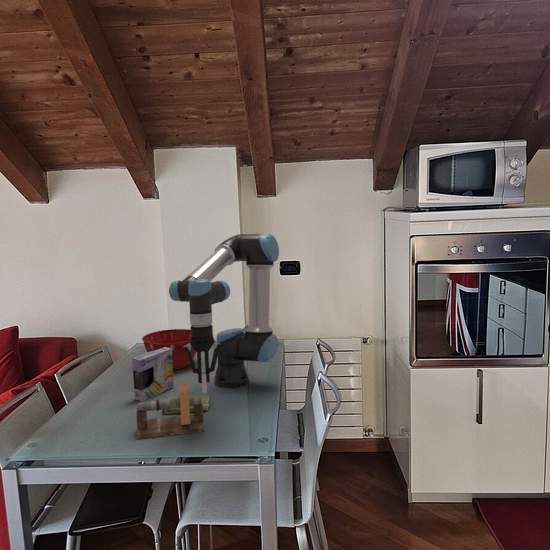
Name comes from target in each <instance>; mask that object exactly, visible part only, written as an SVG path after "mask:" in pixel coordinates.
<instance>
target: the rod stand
mask: <svg viewBox="0 0 550 550" xmlns="http://www.w3.org/2000/svg"><path fill="white" fill-rule="evenodd" d="M191 406H194V412H193V414H190V424H185V425H181V415H179V416H177V415H176V416H168V417H160V418H158V417H157V418H150V419H149V418H148V416H147V415H148V414H147V412H150V411H152V412H153V411H157V412H159V411H160V410H161V411H162V409H172V408H180V399H172V400H166V399H165V400H164V399H163V400H159V399H156V400H153V401H145V402H144V401H141V402H138V403H137V408H136V412H135V415H136V428H137V430H136V440H141V439H140V438H144V439H149V438H148V437H153V438H156V437H155V436H161V437H165V436H164V435H170V436H172V435H171V434H178V435H182V434H181V433H187V434H190V433H189V432H196V433H200V432H199V431H204V432H205V423H204V412H203V405H202V402H201V397H191V398H189V407H191Z"/></svg>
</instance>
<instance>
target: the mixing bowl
mask: <svg viewBox="0 0 550 550" xmlns="http://www.w3.org/2000/svg"><path fill="white" fill-rule="evenodd" d="M190 339H191V330H190V329H189V328H188V329H186V328H172V329H171V328H170V329H163V330H158V331H157V330H156V331H153V332H150V333H148V334H145V335H143V336H142V338H141V341H143V345H144V347H145V350H146V353H148V352H151V351H155V350H158V349H161V348H164V347H167V348H171V349H172V364H173V371H175V370H176V369H177V370H180V369H184V368H186V367H188V366H189V365H191V364H190V361H189V358H188V355H187V353H186V351H185V350H184V345H187V344H189V343H190ZM190 351H191V354H192V358H193V360H194V358H195V357H196V355H197V351H195V349H194V348H193V347H192V346H191V350H190Z"/></svg>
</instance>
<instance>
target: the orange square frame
mask: <svg viewBox="0 0 550 550" xmlns="http://www.w3.org/2000/svg"><path fill="white" fill-rule="evenodd" d="M178 386H179V389H178V391H179V397H180V411H181V414H180V416H181V425H185V424H190V415H191V414H190V407H189V396H190V394H189V393H190V392H189V381H183V382H181V381H180V382H178Z"/></svg>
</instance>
